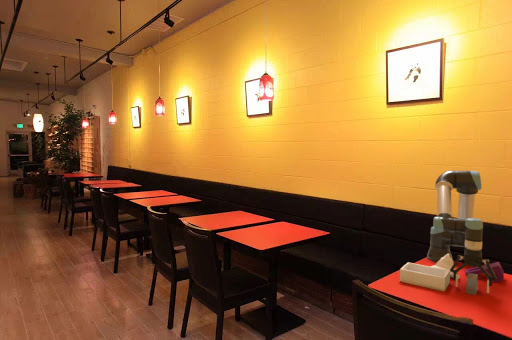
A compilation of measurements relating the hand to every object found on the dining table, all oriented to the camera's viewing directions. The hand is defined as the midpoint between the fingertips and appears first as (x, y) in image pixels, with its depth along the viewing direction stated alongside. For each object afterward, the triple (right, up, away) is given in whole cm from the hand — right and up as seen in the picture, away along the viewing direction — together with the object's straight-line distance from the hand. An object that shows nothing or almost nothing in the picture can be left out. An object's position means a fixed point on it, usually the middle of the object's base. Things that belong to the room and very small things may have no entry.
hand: (472, 288), depth 170 cm
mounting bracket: (+21, -1, +21) cm, 29 cm away
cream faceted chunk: (-1, -1, +23) cm, 23 cm away
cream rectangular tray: (-18, -1, +12) cm, 22 cm away
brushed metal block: (0, -1, 0) cm, 1 cm away
